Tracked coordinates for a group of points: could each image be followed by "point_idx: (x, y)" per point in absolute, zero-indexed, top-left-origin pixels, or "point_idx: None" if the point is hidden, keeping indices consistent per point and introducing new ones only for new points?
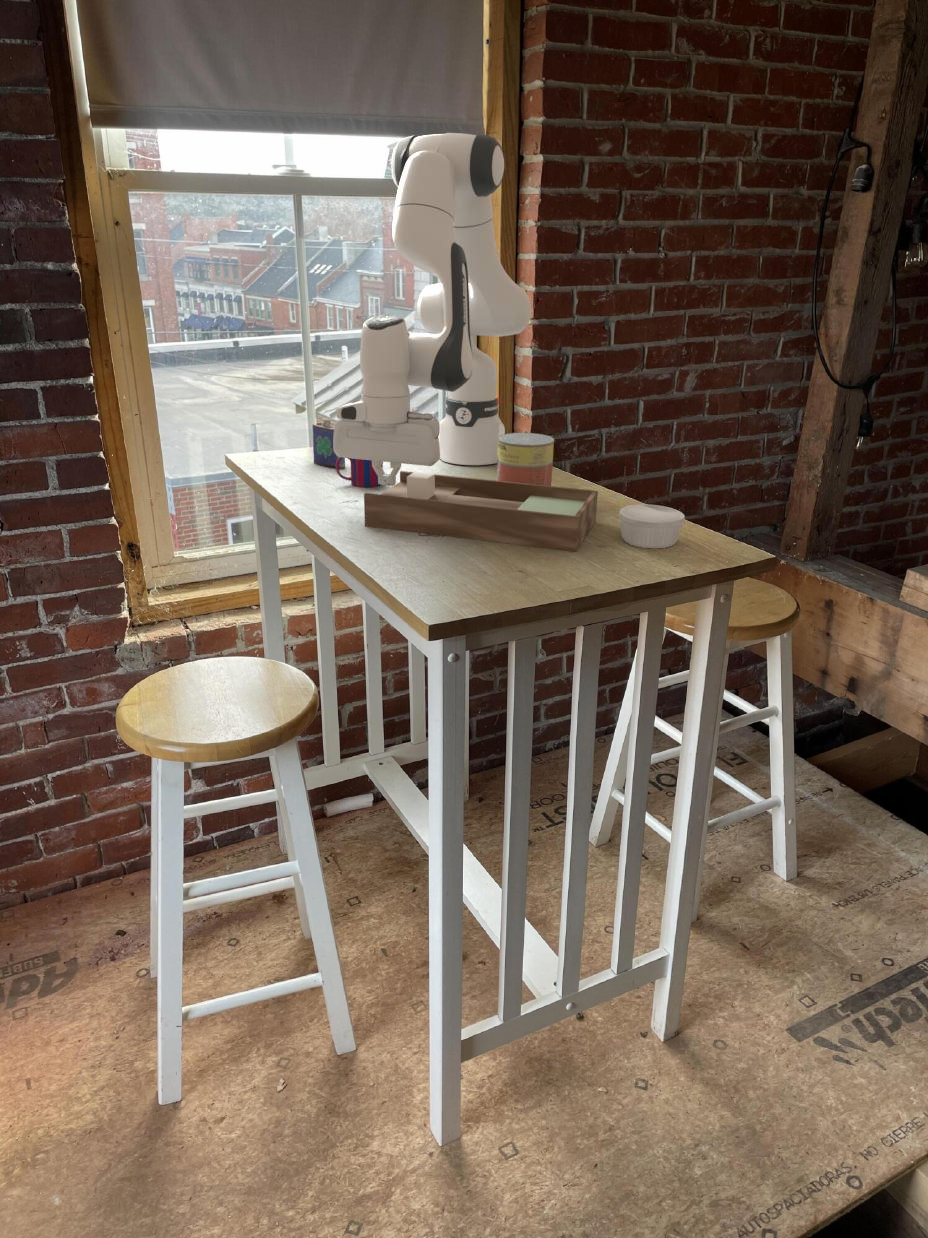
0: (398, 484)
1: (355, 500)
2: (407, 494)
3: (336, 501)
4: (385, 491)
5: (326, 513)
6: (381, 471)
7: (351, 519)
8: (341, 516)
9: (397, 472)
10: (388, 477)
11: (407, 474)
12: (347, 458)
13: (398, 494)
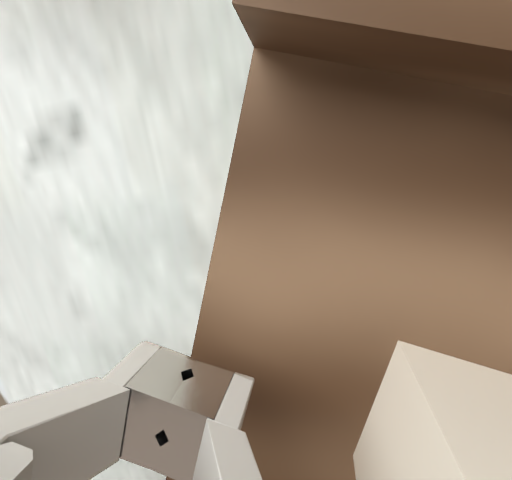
0: (254, 139)
1: (68, 115)
2: (359, 475)
3: (4, 147)
4: (201, 326)
5: (29, 314)
6: (94, 443)
7: None
8: (87, 347)
9: (252, 463)
10: (190, 477)
11: (318, 27)
12: None
13: (290, 385)
